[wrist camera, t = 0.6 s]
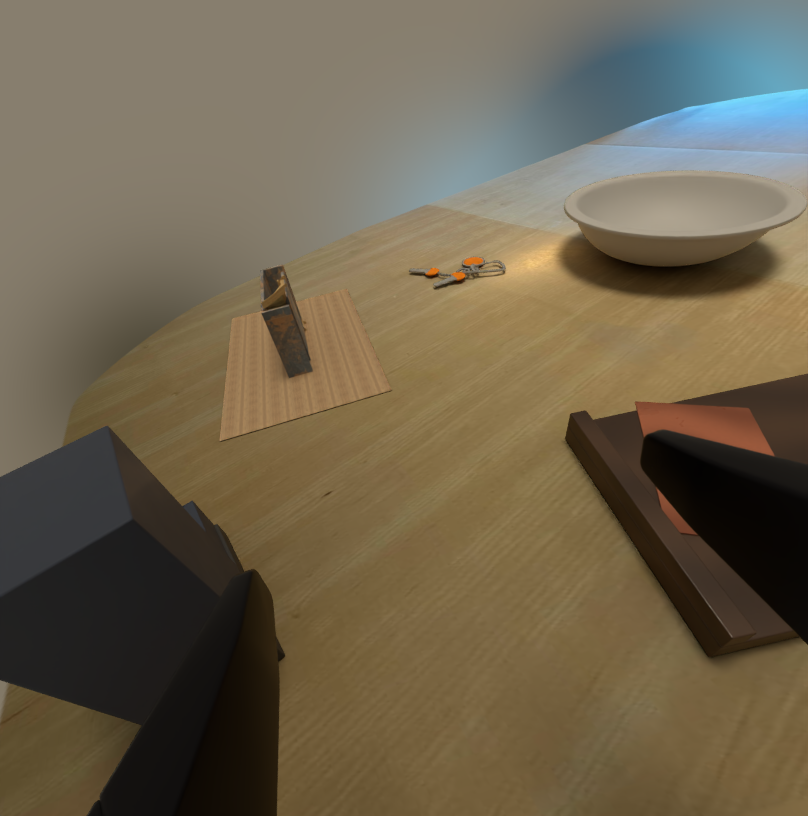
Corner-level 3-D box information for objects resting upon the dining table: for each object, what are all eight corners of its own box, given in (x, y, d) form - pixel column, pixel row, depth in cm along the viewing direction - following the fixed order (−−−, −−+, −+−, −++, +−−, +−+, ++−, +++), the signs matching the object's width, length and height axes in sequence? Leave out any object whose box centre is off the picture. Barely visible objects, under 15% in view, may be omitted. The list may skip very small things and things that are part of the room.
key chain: (494, 254, 57) (494, 249, 56) (510, 275, 51) (510, 268, 51) (408, 270, 57) (407, 264, 56) (414, 292, 51) (413, 286, 51)
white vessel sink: (767, 315, 38) (805, 246, 33) (529, 279, 50) (533, 225, 46) (782, 227, 51) (810, 169, 46) (590, 216, 63) (598, 170, 59)
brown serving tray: (1133, 559, 19) (1199, 531, 18) (708, 657, 19) (732, 639, 17) (826, 374, 31) (847, 345, 29) (560, 431, 31) (564, 406, 29)
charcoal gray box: (285, 655, 21) (132, 518, 12) (184, 739, 19) (-96, 651, 10) (226, 534, 28) (96, 383, 18) (145, 587, 26) (-48, 446, 16)
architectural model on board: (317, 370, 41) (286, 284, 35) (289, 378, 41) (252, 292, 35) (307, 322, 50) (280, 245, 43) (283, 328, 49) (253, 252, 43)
